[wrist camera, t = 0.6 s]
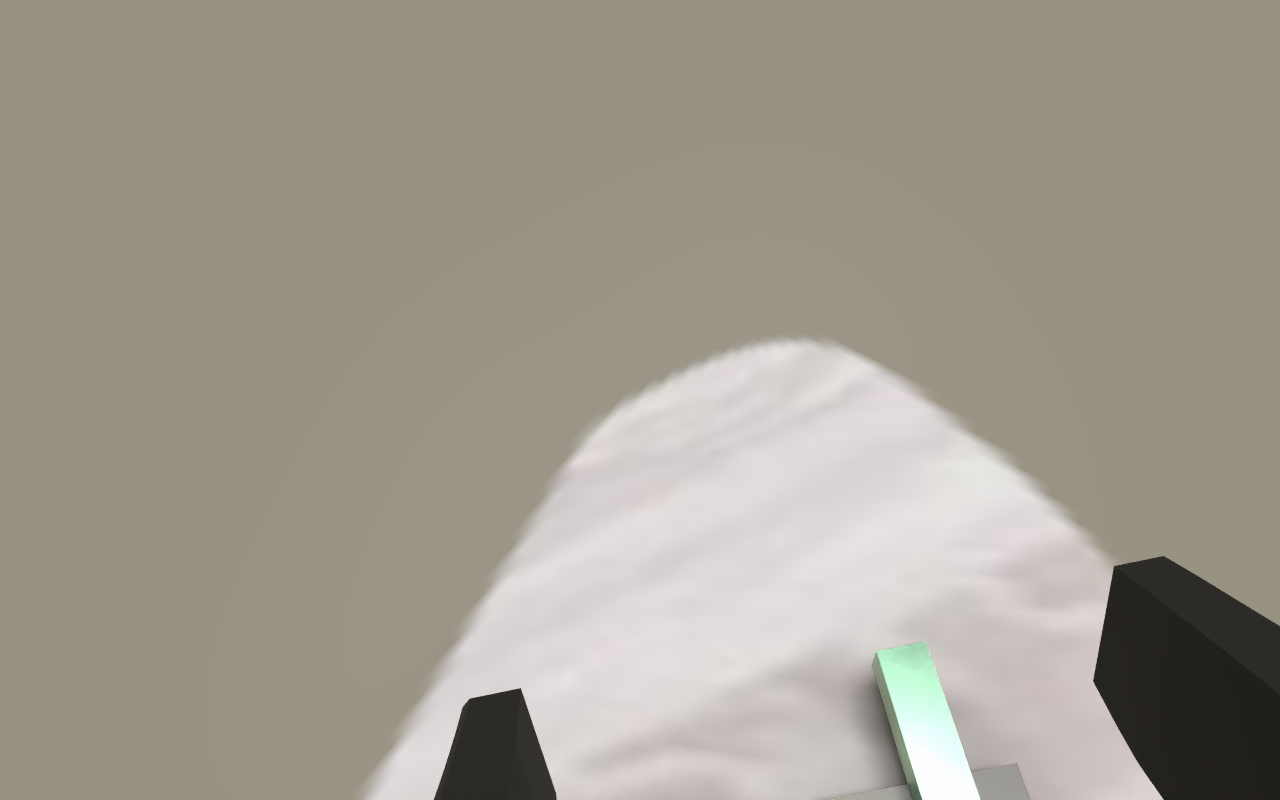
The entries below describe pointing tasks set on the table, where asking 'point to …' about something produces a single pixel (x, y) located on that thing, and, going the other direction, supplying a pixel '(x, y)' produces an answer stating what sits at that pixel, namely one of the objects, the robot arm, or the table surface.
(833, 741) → the table surface
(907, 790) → the collar block
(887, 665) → the bar
